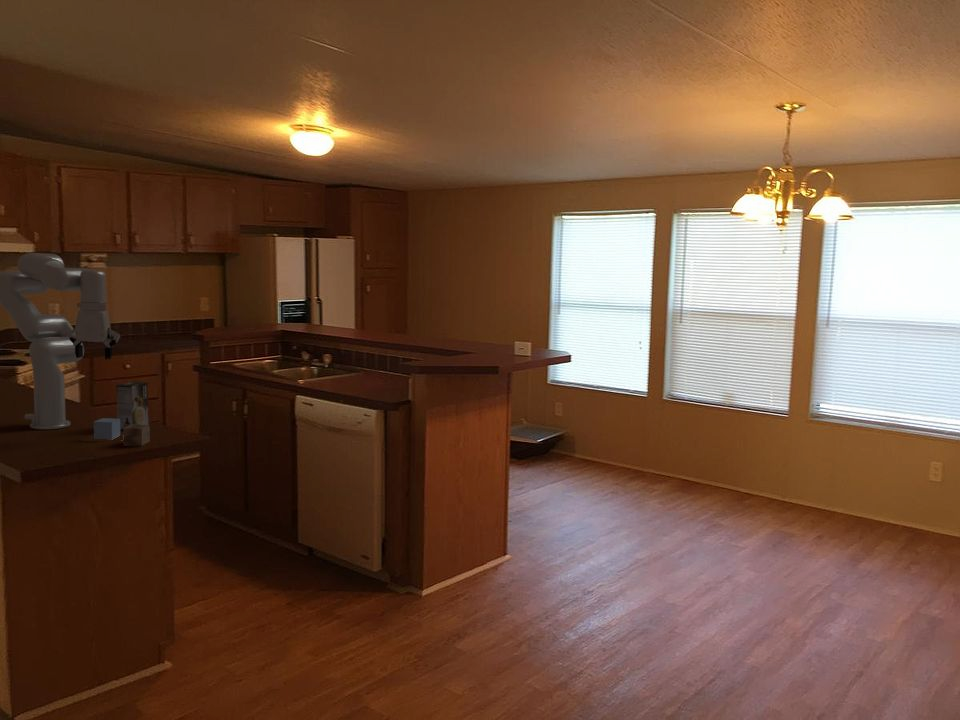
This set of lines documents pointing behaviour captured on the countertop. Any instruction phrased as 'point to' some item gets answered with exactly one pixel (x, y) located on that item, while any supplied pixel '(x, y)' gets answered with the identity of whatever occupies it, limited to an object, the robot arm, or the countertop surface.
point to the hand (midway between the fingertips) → (93, 358)
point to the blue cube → (107, 428)
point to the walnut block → (136, 435)
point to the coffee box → (132, 404)
